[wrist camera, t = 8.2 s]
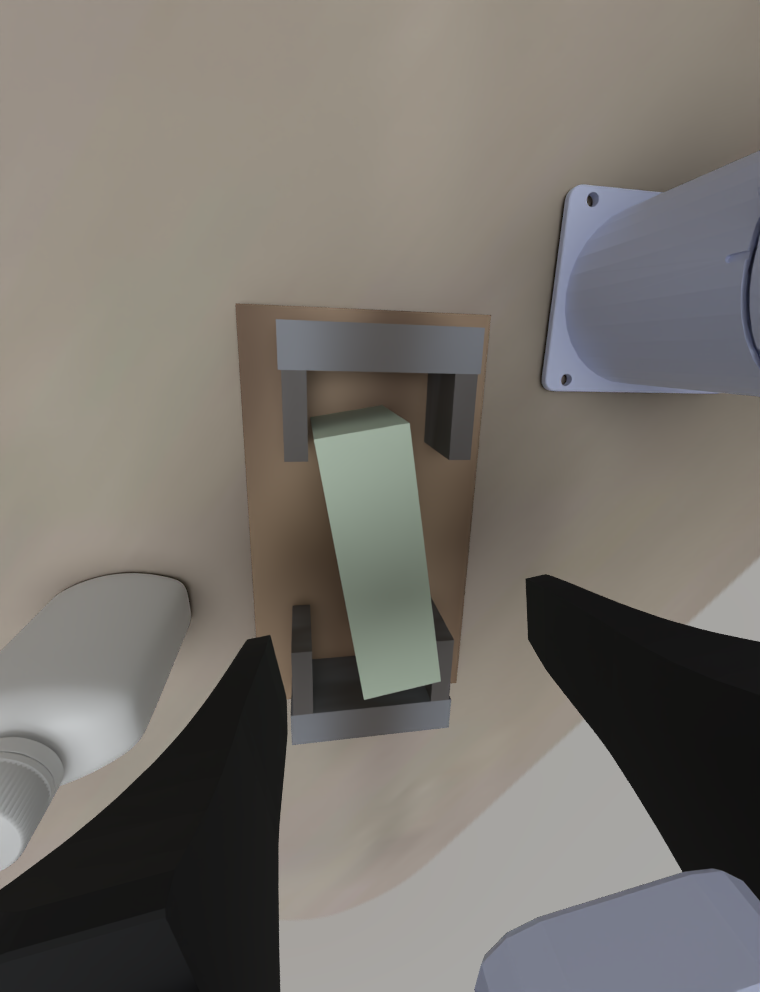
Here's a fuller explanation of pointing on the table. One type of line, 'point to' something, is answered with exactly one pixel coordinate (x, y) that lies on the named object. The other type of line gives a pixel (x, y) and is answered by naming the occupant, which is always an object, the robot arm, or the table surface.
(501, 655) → the table surface
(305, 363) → the slotted holder
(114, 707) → the eye dropper bottle
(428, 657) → the rail plank
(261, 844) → the robot arm
